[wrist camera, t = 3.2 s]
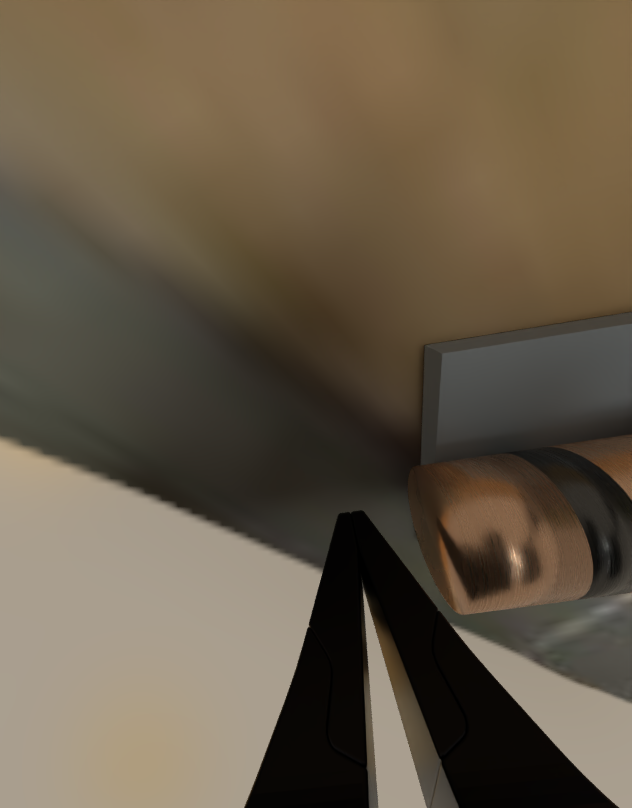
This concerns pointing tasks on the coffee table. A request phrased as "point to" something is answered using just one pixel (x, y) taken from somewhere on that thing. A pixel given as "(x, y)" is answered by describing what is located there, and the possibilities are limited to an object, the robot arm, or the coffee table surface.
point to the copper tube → (527, 524)
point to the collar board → (527, 389)
